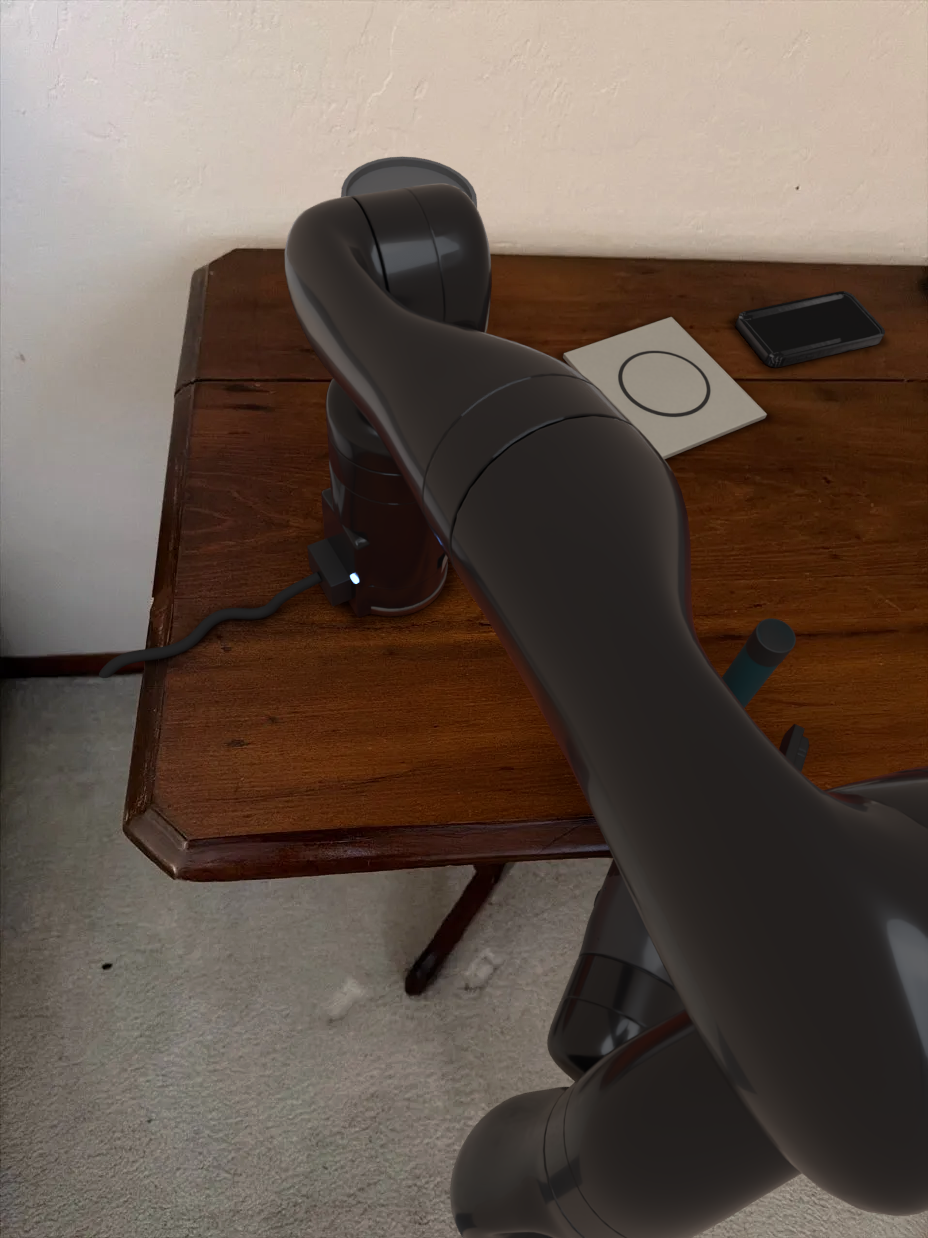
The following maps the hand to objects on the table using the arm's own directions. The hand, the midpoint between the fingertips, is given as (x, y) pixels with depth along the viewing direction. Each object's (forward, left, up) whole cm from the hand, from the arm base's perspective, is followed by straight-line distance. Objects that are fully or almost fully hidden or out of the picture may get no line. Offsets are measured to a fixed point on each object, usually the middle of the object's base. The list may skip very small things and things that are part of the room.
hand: (735, 703), depth 62 cm
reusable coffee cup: (+1, +51, -8) cm, 52 cm away
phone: (+41, +33, -8) cm, 54 cm away
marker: (+2, +1, -8) cm, 8 cm away
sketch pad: (+21, +33, -8) cm, 40 cm away
